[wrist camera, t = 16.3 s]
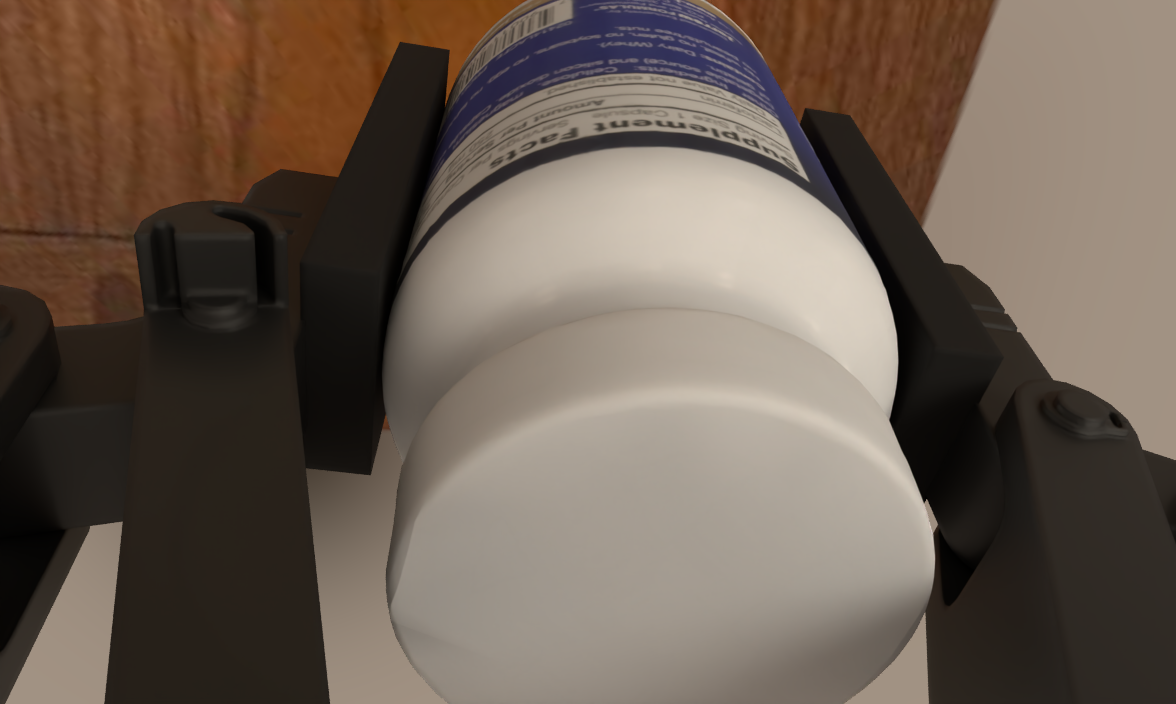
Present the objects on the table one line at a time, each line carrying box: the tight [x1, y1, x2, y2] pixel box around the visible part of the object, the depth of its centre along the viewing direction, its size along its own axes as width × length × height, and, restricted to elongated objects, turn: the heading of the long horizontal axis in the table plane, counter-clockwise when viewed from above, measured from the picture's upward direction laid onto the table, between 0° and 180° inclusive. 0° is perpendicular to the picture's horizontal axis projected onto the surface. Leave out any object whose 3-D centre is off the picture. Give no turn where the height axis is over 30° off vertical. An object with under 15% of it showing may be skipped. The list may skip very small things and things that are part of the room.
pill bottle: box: [382, 0, 935, 704], centre depth 12 cm, size 6×6×10 cm
